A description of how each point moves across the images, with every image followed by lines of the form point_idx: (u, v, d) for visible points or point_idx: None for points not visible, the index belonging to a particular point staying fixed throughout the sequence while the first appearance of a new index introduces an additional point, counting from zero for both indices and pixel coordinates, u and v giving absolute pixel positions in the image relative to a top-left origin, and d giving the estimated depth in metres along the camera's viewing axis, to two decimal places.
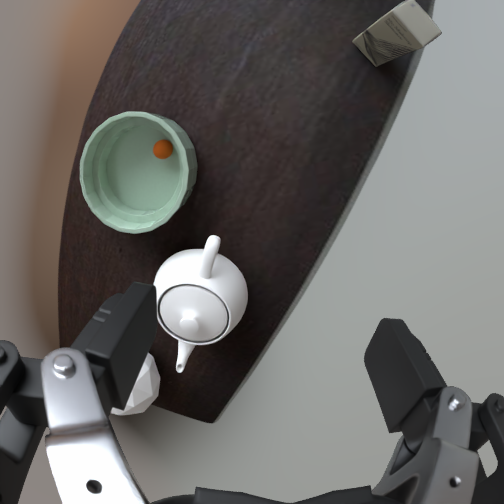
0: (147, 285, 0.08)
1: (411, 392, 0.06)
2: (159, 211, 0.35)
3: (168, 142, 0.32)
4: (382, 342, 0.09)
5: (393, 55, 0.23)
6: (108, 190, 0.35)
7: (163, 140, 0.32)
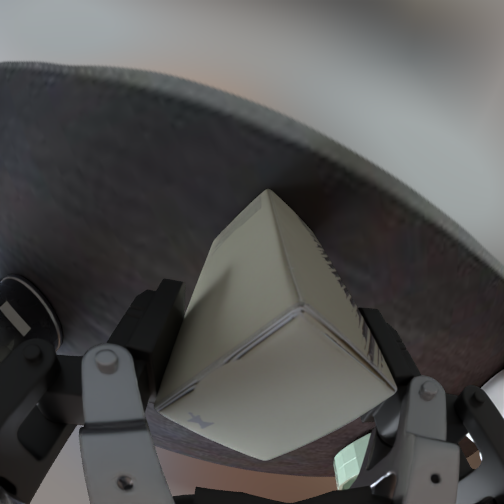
0: (177, 282, 0.09)
1: None
2: None
3: None
4: None
5: None
6: None
7: None
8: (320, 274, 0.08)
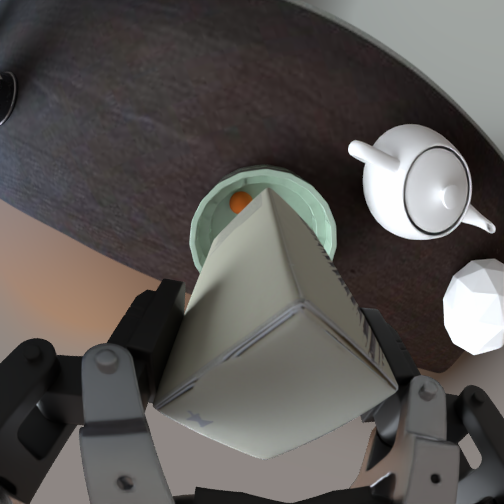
0: (178, 282, 0.09)
1: None
2: (314, 213, 0.30)
3: (233, 195, 0.30)
4: None
5: None
6: None
7: (230, 201, 0.30)
8: (321, 272, 0.08)
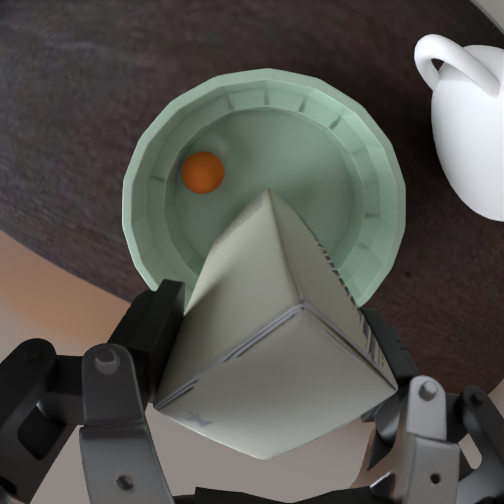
0: (177, 281, 0.09)
1: None
2: (360, 167, 0.15)
3: (203, 154, 0.15)
4: None
5: None
6: None
7: (191, 157, 0.15)
8: (321, 272, 0.08)
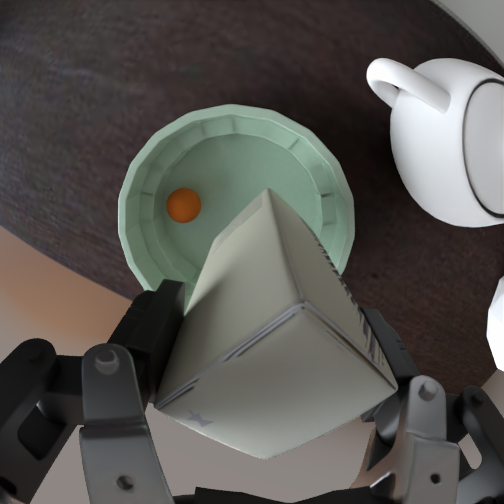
0: (177, 282, 0.09)
1: None
2: (317, 182, 0.18)
3: (179, 207, 0.19)
4: None
5: None
6: None
7: (171, 208, 0.19)
8: (321, 272, 0.08)
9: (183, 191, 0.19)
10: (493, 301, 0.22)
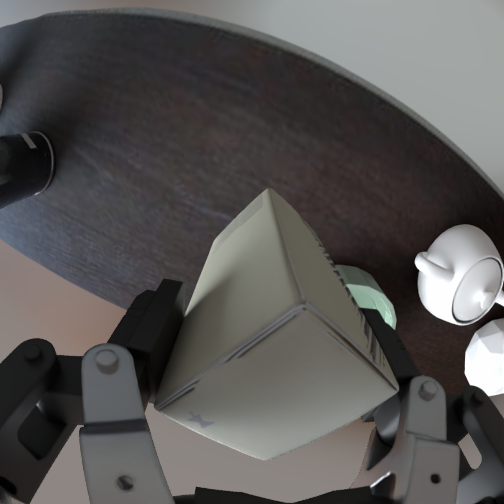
0: (178, 282, 0.09)
1: None
2: (378, 306, 0.33)
3: None
4: None
5: None
6: None
7: None
8: (322, 272, 0.08)
9: None
10: (469, 346, 0.36)
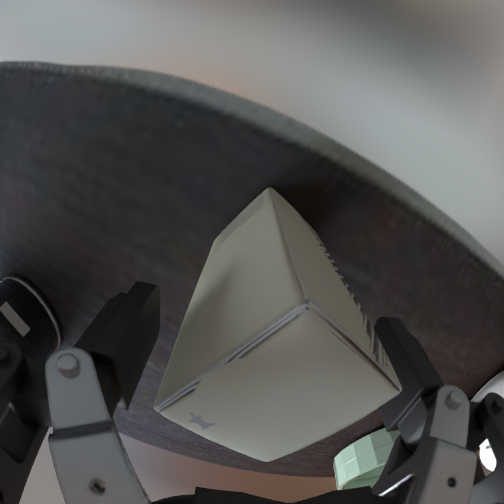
0: (150, 285, 0.08)
1: (408, 391, 0.06)
2: None
3: None
4: None
5: None
6: None
7: None
8: (324, 272, 0.08)
9: None
10: None
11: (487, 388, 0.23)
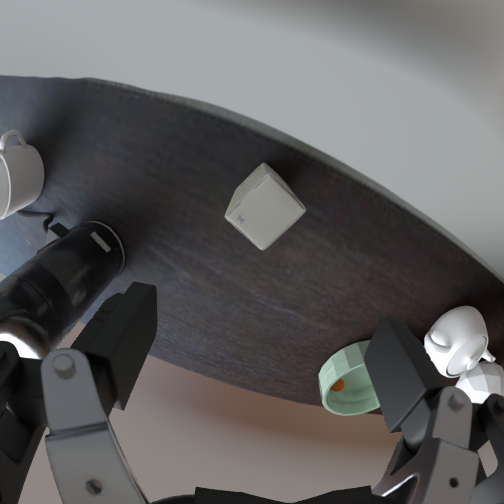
0: (147, 285, 0.08)
1: (411, 392, 0.06)
2: None
3: None
4: (382, 342, 0.09)
5: None
6: (365, 392, 0.46)
7: None
8: (280, 180, 0.23)
9: None
10: (458, 382, 0.45)
11: (439, 320, 0.39)
